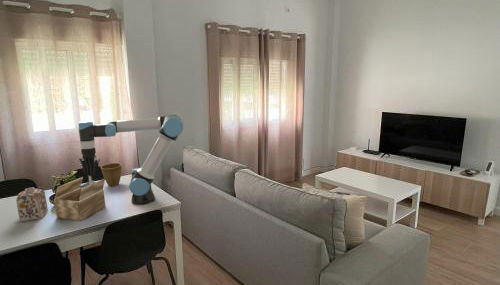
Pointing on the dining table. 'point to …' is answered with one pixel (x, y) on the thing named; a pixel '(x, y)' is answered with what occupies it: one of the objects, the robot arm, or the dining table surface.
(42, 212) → the decorative jar
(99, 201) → the carton
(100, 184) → the near flap
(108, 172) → the plant pot
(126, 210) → the dining table surface
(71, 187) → the far flap
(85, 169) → the robot arm
